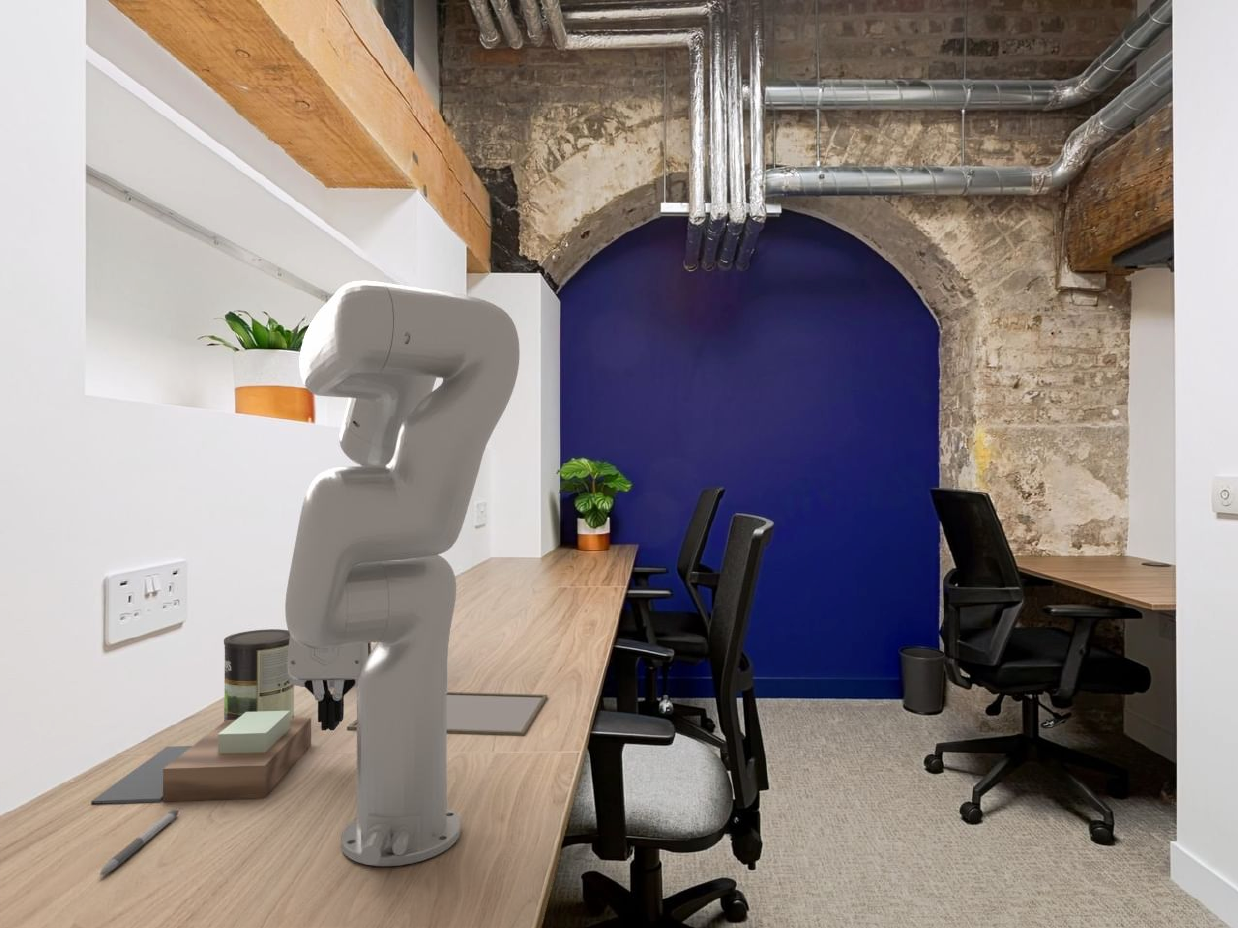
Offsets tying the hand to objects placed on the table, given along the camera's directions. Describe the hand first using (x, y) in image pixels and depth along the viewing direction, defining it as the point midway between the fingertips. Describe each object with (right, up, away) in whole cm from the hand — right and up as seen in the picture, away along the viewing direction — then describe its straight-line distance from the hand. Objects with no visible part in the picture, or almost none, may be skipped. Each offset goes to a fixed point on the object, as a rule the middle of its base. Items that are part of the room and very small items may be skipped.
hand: (330, 726), depth 103 cm
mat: (-21, -5, -2) cm, 22 cm away
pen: (-12, -6, -21) cm, 25 cm away
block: (-10, -1, -1) cm, 10 cm away
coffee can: (-18, -6, +17) cm, 25 cm away
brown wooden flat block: (-11, -5, -1) cm, 13 cm away
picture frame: (+12, -6, +23) cm, 26 cm away
